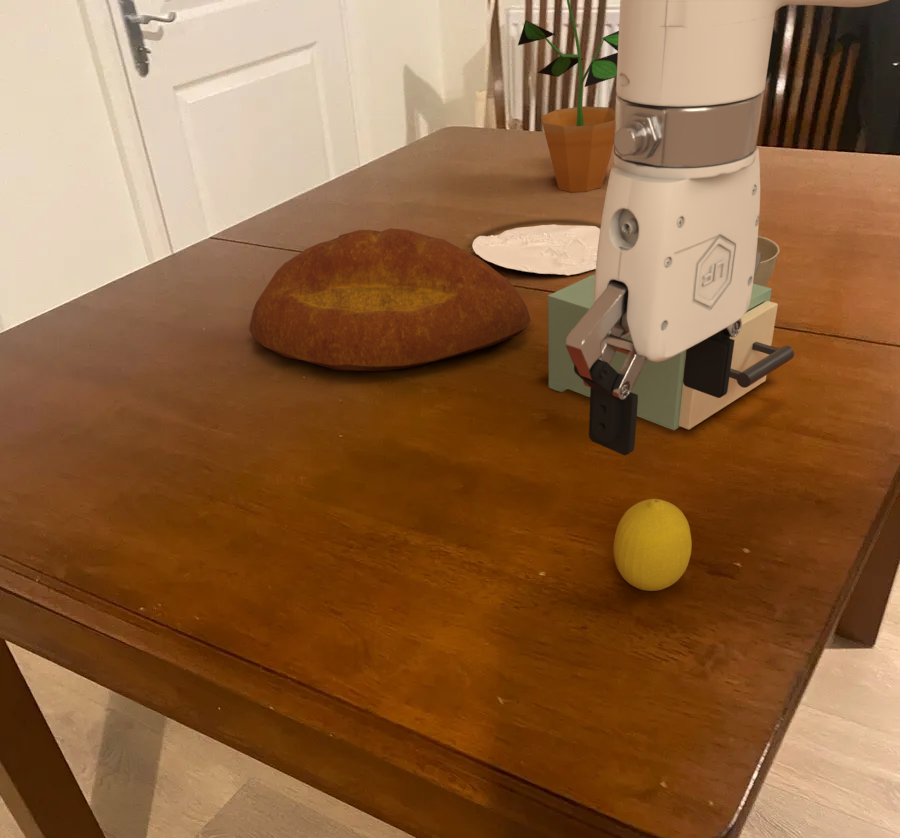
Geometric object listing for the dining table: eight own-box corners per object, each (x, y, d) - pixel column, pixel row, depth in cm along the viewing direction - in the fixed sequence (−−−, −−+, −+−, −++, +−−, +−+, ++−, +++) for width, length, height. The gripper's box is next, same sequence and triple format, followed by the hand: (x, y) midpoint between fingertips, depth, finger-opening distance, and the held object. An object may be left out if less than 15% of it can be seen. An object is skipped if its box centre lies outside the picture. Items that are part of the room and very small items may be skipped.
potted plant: (509, 178, 153) (501, -40, 134) (617, 163, 154) (625, -54, 135) (536, 209, 139) (532, -28, 120) (654, 193, 141) (669, -44, 122)
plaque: (452, 272, 121) (452, 261, 120) (496, 224, 135) (496, 214, 134) (603, 288, 116) (604, 276, 115) (631, 237, 130) (632, 226, 129)
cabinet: (757, 383, 92) (772, 288, 86) (673, 437, 86) (682, 338, 79) (633, 342, 102) (638, 253, 95) (548, 387, 95) (547, 295, 89)
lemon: (630, 620, 67) (635, 530, 61) (600, 575, 71) (603, 488, 66) (699, 602, 67) (711, 513, 62) (666, 560, 72) (674, 472, 67)
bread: (285, 305, 118) (265, 204, 110) (539, 304, 112) (538, 198, 104) (226, 381, 102) (198, 270, 94) (518, 385, 96) (515, 267, 88)
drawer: (801, 392, 88) (816, 313, 83) (724, 444, 82) (735, 362, 77) (647, 341, 99) (652, 269, 94) (569, 383, 93) (570, 308, 88)
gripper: (638, 182, 42) (619, 493, 53) (836, 105, 51) (784, 387, 62) (521, 157, 47) (525, 449, 58) (721, 91, 55) (691, 356, 66)
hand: (659, 417), depth 60 cm, fingers open, 9 cm apart
